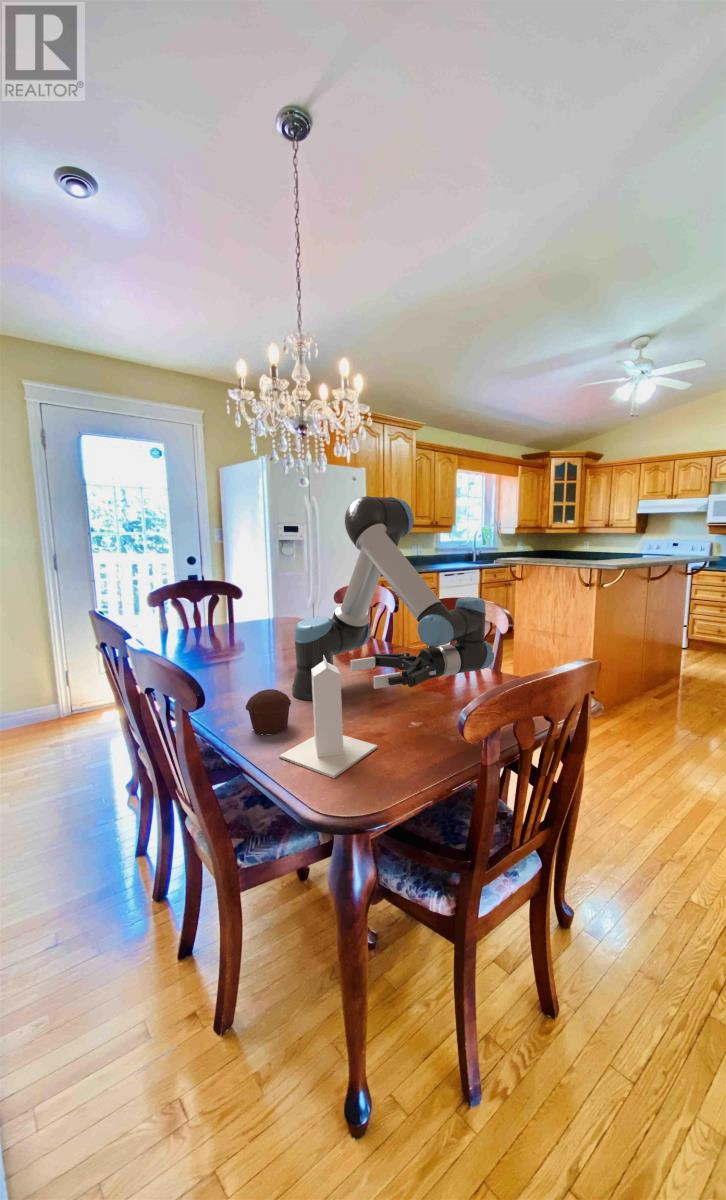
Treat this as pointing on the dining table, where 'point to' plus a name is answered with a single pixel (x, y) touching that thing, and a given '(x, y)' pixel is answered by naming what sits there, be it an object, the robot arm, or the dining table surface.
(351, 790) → the dining table surface
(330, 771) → the mat
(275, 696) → the muffin
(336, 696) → the milk
